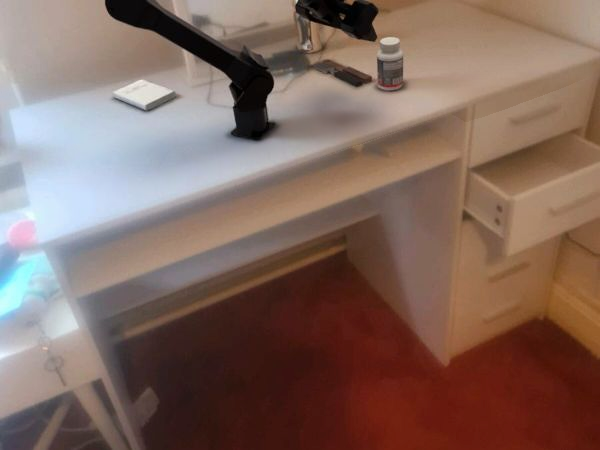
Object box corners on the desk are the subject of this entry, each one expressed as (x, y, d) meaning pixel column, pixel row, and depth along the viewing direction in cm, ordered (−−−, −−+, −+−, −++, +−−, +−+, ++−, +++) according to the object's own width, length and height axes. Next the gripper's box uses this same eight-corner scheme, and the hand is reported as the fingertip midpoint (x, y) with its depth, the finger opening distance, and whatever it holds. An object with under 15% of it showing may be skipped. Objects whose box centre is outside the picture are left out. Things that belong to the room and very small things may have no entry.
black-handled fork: (364, 83, 129) (364, 80, 128) (354, 87, 128) (354, 83, 127) (320, 63, 140) (320, 59, 139) (311, 66, 139) (310, 63, 138)
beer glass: (321, 53, 144) (316, -11, 135) (293, 54, 146) (286, -10, 137) (326, 42, 150) (321, -20, 141) (298, 43, 151) (292, -19, 142)
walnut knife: (372, 80, 130) (372, 76, 129) (365, 83, 129) (364, 79, 128) (327, 60, 141) (327, 56, 140) (320, 62, 140) (320, 58, 140)
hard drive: (146, 112, 128) (114, 98, 136) (176, 97, 133) (143, 84, 140) (144, 105, 127) (112, 91, 135) (175, 90, 132) (142, 78, 139)
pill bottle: (376, 81, 129) (375, 36, 123) (401, 79, 129) (402, 34, 123) (378, 92, 125) (377, 46, 119) (404, 90, 125) (404, 44, 119)
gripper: (369, -46, 97) (416, 6, 109) (303, -62, 110) (351, -14, 121) (333, 15, 99) (383, 60, 110) (271, -8, 112) (322, 35, 123)
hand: (360, 33), depth 116 cm, fingers open, 9 cm apart
